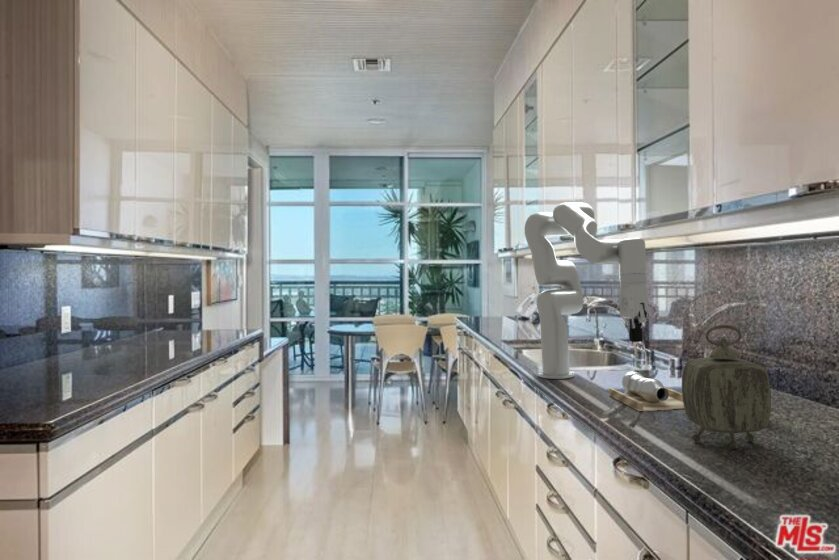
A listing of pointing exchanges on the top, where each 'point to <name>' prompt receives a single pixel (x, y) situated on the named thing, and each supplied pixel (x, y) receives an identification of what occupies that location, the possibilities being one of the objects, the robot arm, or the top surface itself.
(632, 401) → the wooden tray
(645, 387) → the plastic bottle
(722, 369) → the tabletop clock
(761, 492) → the top surface
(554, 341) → the robot arm
